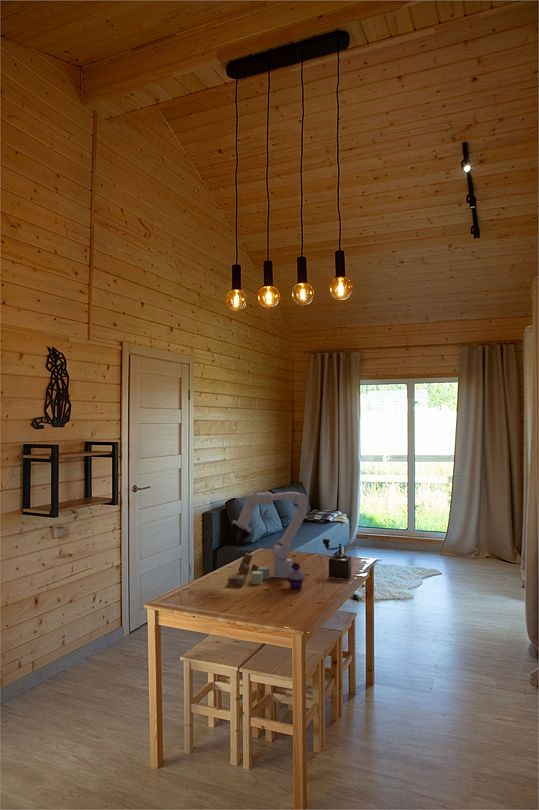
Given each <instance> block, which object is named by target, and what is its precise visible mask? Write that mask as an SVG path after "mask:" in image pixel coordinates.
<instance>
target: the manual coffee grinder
mask: <svg viewBox="0 0 539 810" xmlns="http://www.w3.org/2000/svg"><path fill="white" fill-rule="evenodd" d="M330 541H331V540H330V539H329V538H324V539H322V543H323V545H324V548H325V549H326V550H327V551H332V550H334V551H335V550H339V551H338V553H336V554H333V555H332V556H330V557H329V559H328V578H329V577H334V578H333V579H338V578H344V579H343V580H349V579H350V578H351V577H350V576H352V575H351V574H352V556H349V555H346V554H344V553H343V552H342V544H341V543H339V544H338V547H331V546H330ZM330 547H331V548H330Z"/></svg>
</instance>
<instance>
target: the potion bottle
mask: <svg viewBox="0 0 539 810" xmlns="http://www.w3.org/2000/svg"><path fill="white" fill-rule="evenodd" d="M291 568H292V571H290V572H288V573H287V576H288V578H287V582H289V586H290V587H289V589H291V588H292V589H291V590H296V589H298V590H301V589H302V587H303V581H304V579H305V575H306V573H305V572H303V571H301V570H300V569H301V565H300V562H297V561H294V562H293V561H292V565H291ZM300 588H301V589H300Z"/></svg>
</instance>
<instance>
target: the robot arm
mask: <svg viewBox="0 0 539 810" xmlns="http://www.w3.org/2000/svg"><path fill="white" fill-rule="evenodd" d="M282 500H283V501H284V500H288V501H290V502H291V503H292V505H293V506H294V509H295V513H294V516H293V517H292V519H291V521H290V522H289V525H288V526H287V528H286V530H285V531H284V534H283V535H282V537H281V538H280V539H279V540H278V541H277V542H276V544H273V546H272V554H273V574H272V576H271V578H277V579H278V578H282V579H283V578H284V579H288V576H287V573H288V572H290V571H293V569H292V568H291V565H293V559H292V558H289V557H290V553H291V552H290V550H291V549H292V542H293V540H294V538H295V536H296V535H297V533H298V531H299V529H300V527H301V525H302V523H303V521H304V519H305V518H306V517H307V514H308V504H309V499H308V497H307V495H306V494H305V493H301V492H297V491H294V492H293V491H286V492H277V493H271V491H268V490H265V491H264V492H258V491H256V492H255V493H254V492H253V493H252V492H251V493H249V494H247V495H246V496H245V502H244V505H243V508H242V510H241V512H240V515H239V516H238V520H235V519H233V520H232V523H231V524H230V532H229V534H230V535H229V539H230V540H231V541H233V540H234V539H235V538H236V536H237V534H238V533H239V537H238V540H237V544H239V545H242V544H243V543H244V542H245V540H246V539H247V538H248V537H249V536H250V535H251V533H252V528H251V527H249V524H250V522H251V520H252V517H253V514H254V512H255V509H256V506H258V505H265V504H271V503H272V502H273V501H282ZM239 531H240V532H239Z"/></svg>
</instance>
